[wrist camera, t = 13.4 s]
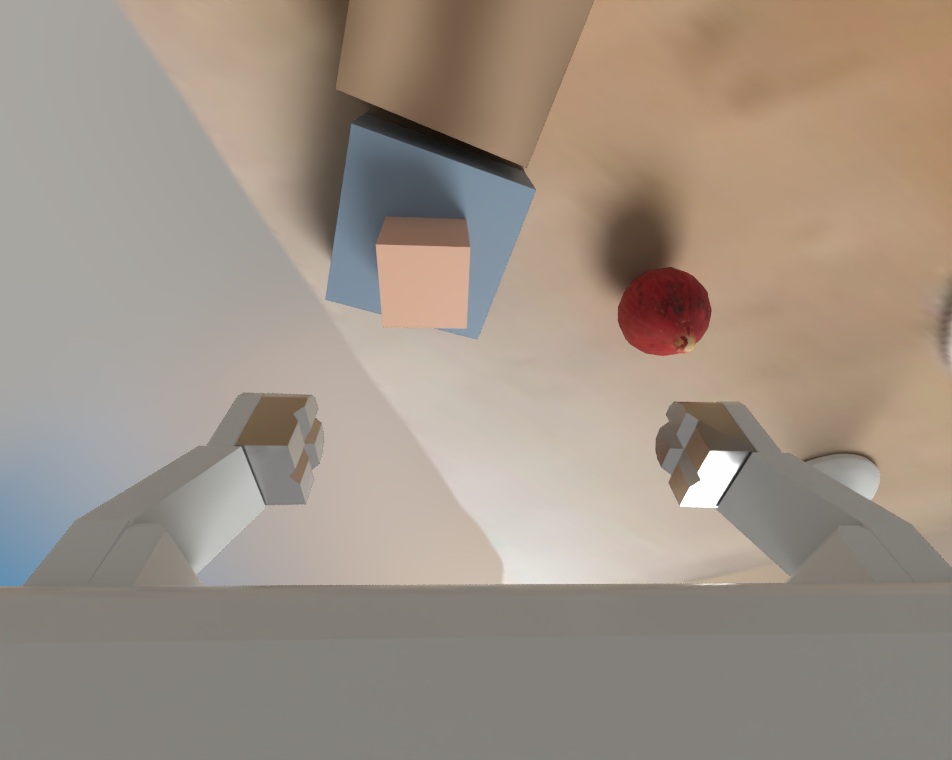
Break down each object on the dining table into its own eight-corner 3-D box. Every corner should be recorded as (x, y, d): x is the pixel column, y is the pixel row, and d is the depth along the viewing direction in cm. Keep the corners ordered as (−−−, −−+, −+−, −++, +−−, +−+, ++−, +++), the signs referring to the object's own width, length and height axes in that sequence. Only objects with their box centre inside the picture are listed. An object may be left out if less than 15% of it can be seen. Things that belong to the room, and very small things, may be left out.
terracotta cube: (466, 219, 25) (470, 247, 21) (463, 292, 27) (466, 328, 24) (385, 216, 24) (375, 244, 21) (390, 291, 27) (382, 327, 23)
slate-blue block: (523, 170, 28) (536, 189, 24) (473, 305, 33) (477, 339, 29) (366, 112, 26) (351, 123, 22) (341, 267, 31) (325, 299, 27)
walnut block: (595, -60, 22) (628, -86, 18) (515, 151, 27) (526, 167, 23) (398, -174, 19) (385, -234, 15) (353, 83, 25) (335, 89, 21)
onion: (605, 259, 31) (646, 311, 25) (686, 244, 31) (749, 294, 25) (604, 328, 35) (639, 390, 28) (677, 316, 34) (729, 375, 28)
